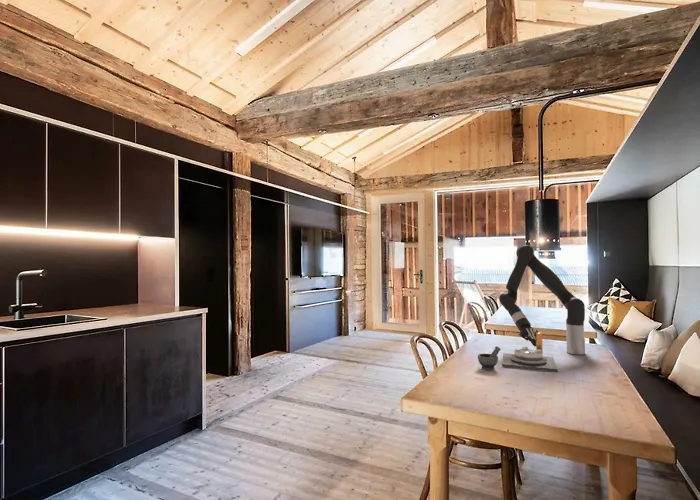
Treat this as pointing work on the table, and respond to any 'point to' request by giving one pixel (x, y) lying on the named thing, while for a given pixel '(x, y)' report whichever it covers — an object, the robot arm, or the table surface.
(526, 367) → the base plate
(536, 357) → the grey disc with handle
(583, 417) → the table surface
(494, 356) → the mortar and pestle
